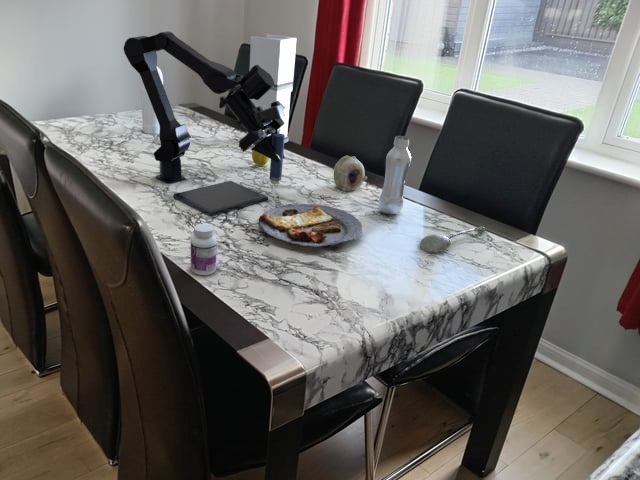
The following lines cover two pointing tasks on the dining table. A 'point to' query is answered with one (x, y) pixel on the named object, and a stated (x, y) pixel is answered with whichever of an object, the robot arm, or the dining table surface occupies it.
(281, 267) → the dining table surface
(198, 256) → the pill bottle
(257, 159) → the lemon
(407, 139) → the plastic bottle
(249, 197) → the tablet
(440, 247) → the soupspoon
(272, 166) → the dark blue cylinder
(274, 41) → the white tower box
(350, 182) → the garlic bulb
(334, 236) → the food plate
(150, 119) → the bottle
